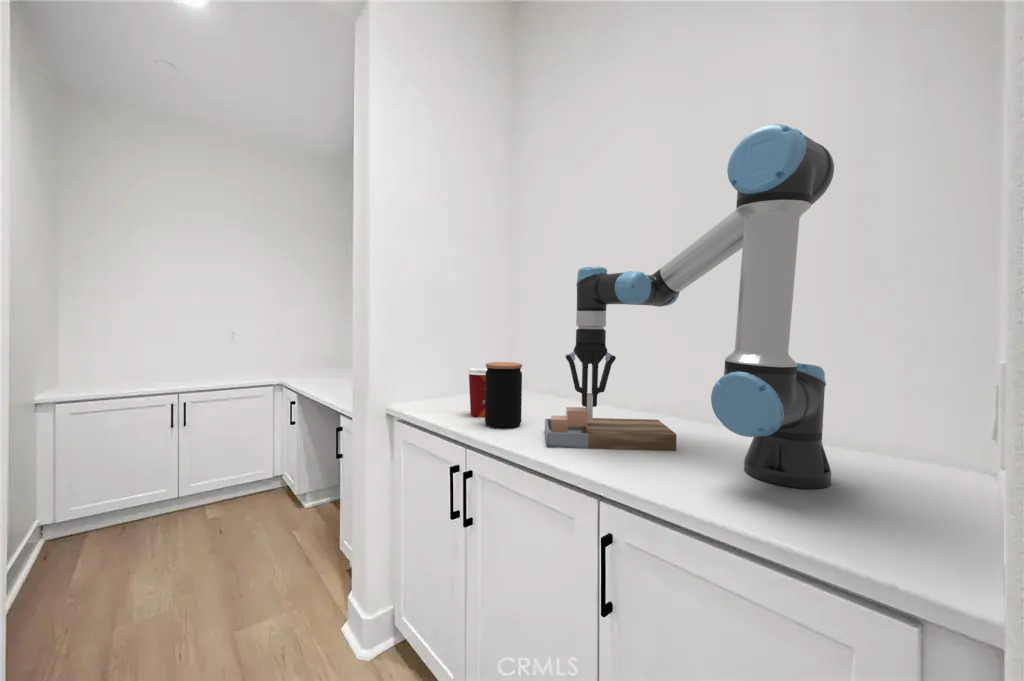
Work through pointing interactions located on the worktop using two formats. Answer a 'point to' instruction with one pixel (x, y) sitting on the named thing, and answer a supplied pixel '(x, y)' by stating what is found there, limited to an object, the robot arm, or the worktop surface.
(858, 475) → the worktop surface
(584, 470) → the worktop surface
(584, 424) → the tile
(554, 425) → the tile
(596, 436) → the board
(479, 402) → the coffee cup
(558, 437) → the tray
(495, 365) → the coffee jar
